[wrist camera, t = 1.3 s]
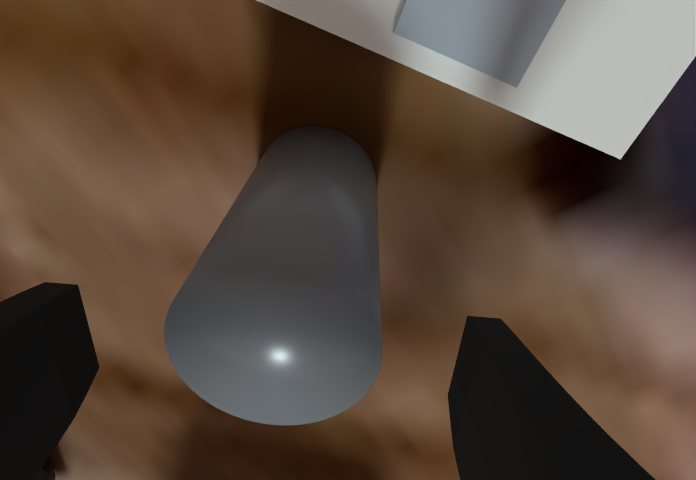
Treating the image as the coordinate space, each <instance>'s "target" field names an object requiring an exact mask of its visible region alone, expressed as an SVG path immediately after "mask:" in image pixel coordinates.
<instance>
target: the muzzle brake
mask: <svg viewBox="0 0 696 480" xmlns="http://www.w3.org/2000/svg"><path fill="white" fill-rule="evenodd" d="M34 480H55V473H54V471H53V468H52V465H51V462H50V460H48V459H47V461H46V462H45V464H44V465H43V467H42V468H41V469H40V471H39V472H38V474H37V475H36V477H35V478H34Z"/></svg>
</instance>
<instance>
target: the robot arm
mask: <svg viewBox="0 0 696 480" xmlns="http://www.w3.org/2000/svg"><path fill="white" fill-rule="evenodd" d="M98 369H99V364H98V360H97V356H96V353H95V349H94V345H93V341H92V337H91V333H90V329H89V326H88V322H87V318H86V314H85V310H84V306H83V303H82V299H81V295H80V291H79V287H78V285H72V284H60V283H47V282H45V283H42V284H40V285H37V286H35V287H32V288H30V289H28V290H25V291H23V292H21V293H19V294H17V295H15V296H12V297H10V298H8V299H6V300H4V301H2V302H0V480H34V478H35V477H36V475H37V474H38V472H39V471H40V469H41V468H42V467H43V465H44V464H45V462H46V461H47V459H48V458H49V456H50V454H51V453H52V451H53V450H54V448H55V447H56V445H57V444H58V442H59V441H60V439H61V438H62V436H63V435H64V433H65V432H66V430H67V429H68V427H69V425H70V424H71V422H72V421H73V419H74V418H75V416H76V414H77V412H78V410H79V408H80V406H81V404H82V402H83V400H84V398H85V396H86V394H87V392H88V390H89V388H90V386H91V384H92V382H93V380H94V377H95V375H96V373H97V371H98ZM448 401H449V412H450V422H451V431H452V440H453V448H454V453H455V457H456V462H457V467H458V471H459V476H460V480H655V479H654V478H653V477H652V476H651V475H650V474H649V473H648V472H646V471H645V470H644V469H643V468H642V467H641V466H640V465H639V464H638V463H637V462H636V461H635V460H634V459H633V458H632V457H631V456H630V455H629V454H628V453H627V452H626V451H625V450H624V449H623V448H621V447H620V446H619V445H618V444H617V443H616V442H615V441H614V440H613V439H612V438H611V437H610V436H609V435H608V434H607V433H606V432H605V431H604V430H603V429H602V428H601V427H600V426H599V425H598V424H597V423H596V422H595V421H594V420H593V419H592V418H591V417H590V416H589V415H588V414H587V413H586V412H585V411H584V410H583V409H582V407H581V406H580V405H579V404H578V403H577V402H576V401H575V400H574V399H573V398H572V397H571V396H570V395H569V394H568V393H567V392H566V391H565V389H564V388H563V387H562V386H561V385H560V384H559V383H558V382H557V381H556V380H555V379H554V378H553V376H552V375H551V374H550V373H549V372H548V371H547V370H546V369H545V368H544V366H543V365H542V364H541V363H540V362H539V361H538V360H537V359H536V358H535V356H534V355H533V354H532V353H531V352H530V351H529V350H528V349H527V347H526V346H525V345H524V344H523V343H522V342H521V341H520V340H519V338H518V337H517V336H516V335H515V334H514V333H513V332H512V331H511V330H510V328H509V327H508V326H507V325H506V324H505V323H504V322H503V321H502V320H501V319H499V318H486V317H474V316H467V319H466V324H465V328H464V332H463V336H462V340H461V344H460V348H459V352H458V356H457V360H456V364H455V368H454V372H453V376H452V380H451V384H450V388H449V392H448Z"/></svg>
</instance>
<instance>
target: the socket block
mask: <svg viewBox="0 0 696 480" xmlns="http://www.w3.org/2000/svg"><path fill="white" fill-rule="evenodd" d="M256 1H259V2H261V3H263V4H266V5H268V6H270V7H272V8H275V9H277V10H279V11H282V12H284V13H286V14H288V15H291V16H293V17H295V18H298V19H300V20H302V21H305V22H307V23H309V24H311V25H314V26H316V27H318V28H321V29H323V30H325V31H327V32H330V33H332V34H334V35H337V36H339V37H341V38H344V39H346V40H348V41H350V42H353V43H355V44H357V45H360V46H362V47H364V48H366V49H369V50H371V51H373V52H376V53H378V54H380V55H382V56H385V57H387V58H389V59H392V60H394V61H396V62H399V63H401V64H403V65H405V66H408V67H410V68H412V69H415V70H417V71H419V72H421V73H424V74H426V75H428V76H431V77H433V78H435V79H437V80H440V81H442V82H444V83H447V84H449V85H451V86H454V87H456V88H458V89H460V90H463V91H465V92H467V93H470V94H472V95H474V96H476V97H479V98H481V99H483V100H486V101H488V102H490V103H493V104H495V105H497V106H499V107H502V108H504V109H506V110H509V111H511V112H513V113H515V114H518V115H520V116H522V117H525V118H527V119H529V120H531V121H534V122H536V123H538V124H541V125H543V126H545V127H548V128H550V129H552V130H554V131H557V132H559V133H561V134H564V135H566V136H568V137H570V138H573V139H575V140H577V141H580V142H582V143H584V144H586V145H589V146H591V147H593V148H596V149H598V150H600V151H603V152H605V153H607V154H609V155H612V156H614V157H616V158H619V159H621V158H622V157H623V155H624V154H625V152H626V151H627V150H628V148H629V147H630V146H631V144H632V143H633V141H634V140H635V139H636V137H637V136H638V135H639V133H640V132H641V130H642V129H643V128H644V126H645V125H646V124H647V122H648V121H649V119H650V118H651V117H652V115H653V114H654V113H655V111H656V110H657V108H658V107H659V106H660V104H661V103H662V102H663V100H664V99H665V97H666V96H667V95H668V93H669V92H670V91H671V89H672V88H673V86H674V85H675V84H676V82H677V81H678V80H679V78H680V77H681V75H682V74H683V73H684V71H685V70H686V69H687V67H688V66H689V64H690V63H691V62H692V60H693V59H694V58H695V56H696V0H256Z"/></svg>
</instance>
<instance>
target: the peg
mask: <svg viewBox="0 0 696 480" xmlns="http://www.w3.org/2000/svg"><path fill="white" fill-rule="evenodd" d="M164 333H165V344H166V349H167V352H168V355H169V358H170V361H171V362H172V364H173V366H174V368H175V370H176V372H177V373H178V374H179V376H180V377H181V379H182V380H183V381H184V382H185V383H186V384H187V385H188V387H189V388H190V389H191V390H193V391H194V392H195V393H196V394H197V395H198V396H199V397H201V398H202V399H204V400H205V401H206V402H208V403H209V404H211V405H213V406H215V407H216V408H218V409H220V410H222V411H224V412H226V413H228V414H231V415H233V416H236V417H239V418H242V419H245V420H249V421H253V422H257V423H263V424H269V425H301V424H308V423H313V422H318V421H321V420H325V419H328V418H331V417H333V416H335V415H337V414H340V413H342V412H343V411H345V410H347V409H348V408H350V407H351V406H353V405H354V404H355V403H357V402H358V401H359V400H360V399H361V398H362V397H363V396H364V395H365V394H366V393H367V392H368V390H369V389H370V387H371V386H372V385H373V383H374V381H375V379H376V377H377V375H378V372H379V368H380V365H381V357H382V341H381V309H380V277H379V244H378V212H377V182H376V174H375V170H374V167H373V164H372V162H371V160H370V158H369V156H368V155H367V153H366V152H365V150H364V149H363V148H362V147H361V146H360V145H359V144H358V143H357V142H356V141H355V140H354V139H352V138H351V137H349V136H348V135H346V134H344V133H342V132H340V131H338V130H335V129H332V128H327V127H322V126H306V127H301V128H297V129H294V130H291V131H289V132H287V133H285V134H283V135H281V136H280V137H279V138H277V139H276V140H275V141H274V142H273V143H272V144H271V145H270V146H269V147H268V149H267V150H266V151H265V153H264V155H263V156H262V158H261V160H260V161H259V163H258V164H257V166H256V168H255V169H254V171H253V172H252V174H251V176H250V177H249V179H248V181H247V182H246V184H245V185H244V187H243V189H242V190H241V192H240V193H239V195H238V197H237V198H236V200H235V202H234V203H233V205H232V206H231V208H230V210H229V211H228V213H227V215H226V216H225V218H224V219H223V221H222V223H221V224H220V226H219V227H218V229H217V231H216V232H215V234H214V236H213V237H212V239H211V240H210V242H209V244H208V245H207V247H206V248H205V250H204V252H203V253H202V255H201V257H200V258H199V260H198V261H197V263H196V265H195V266H194V268H193V270H192V271H191V273H190V274H189V276H188V278H187V279H186V281H185V282H184V284H183V286H182V287H181V289H180V291H179V292H178V294H177V295H176V297H175V299H174V301H173V302H172V304H171V306H170V308H169V311H168V314H167V316H166V321H165V328H164Z"/></svg>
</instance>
